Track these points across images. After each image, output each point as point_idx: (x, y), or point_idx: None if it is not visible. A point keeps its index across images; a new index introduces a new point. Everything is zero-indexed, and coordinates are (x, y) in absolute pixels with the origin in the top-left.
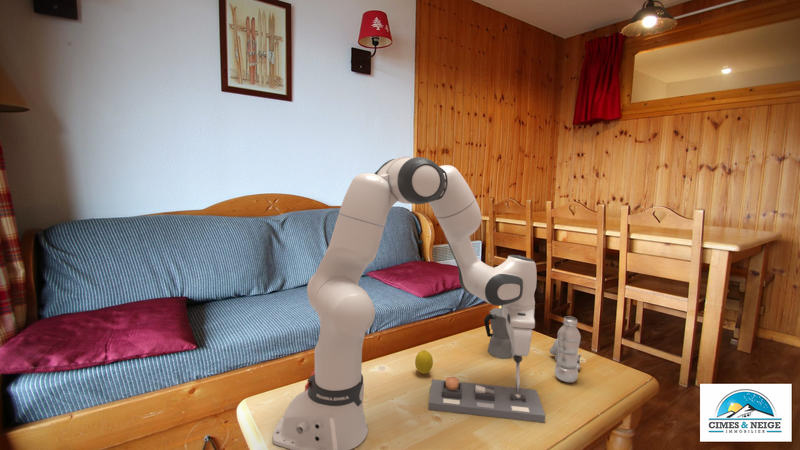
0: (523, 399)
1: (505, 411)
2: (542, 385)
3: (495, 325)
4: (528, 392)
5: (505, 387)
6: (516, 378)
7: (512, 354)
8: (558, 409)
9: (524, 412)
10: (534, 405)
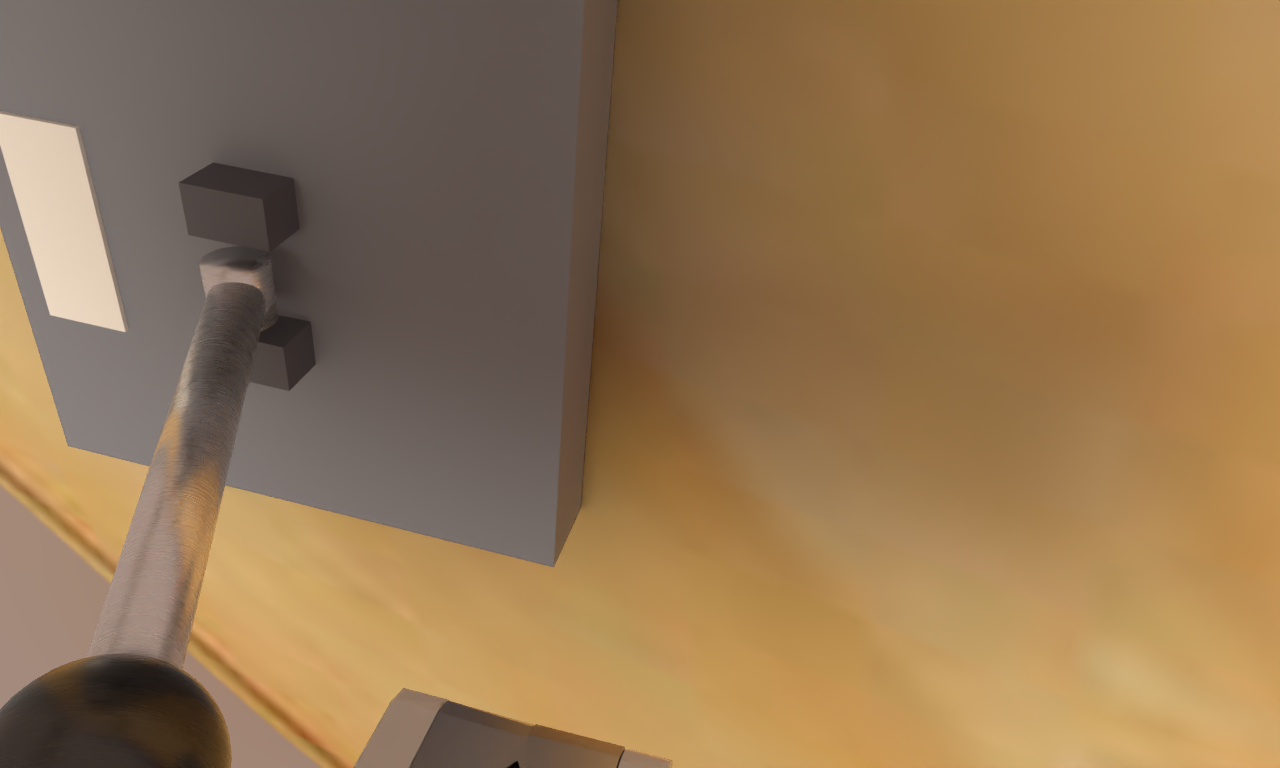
0: None
1: None
2: (823, 664)
3: None
4: (472, 459)
5: (548, 191)
6: (173, 424)
7: (407, 751)
8: (382, 599)
9: (21, 254)
10: None
